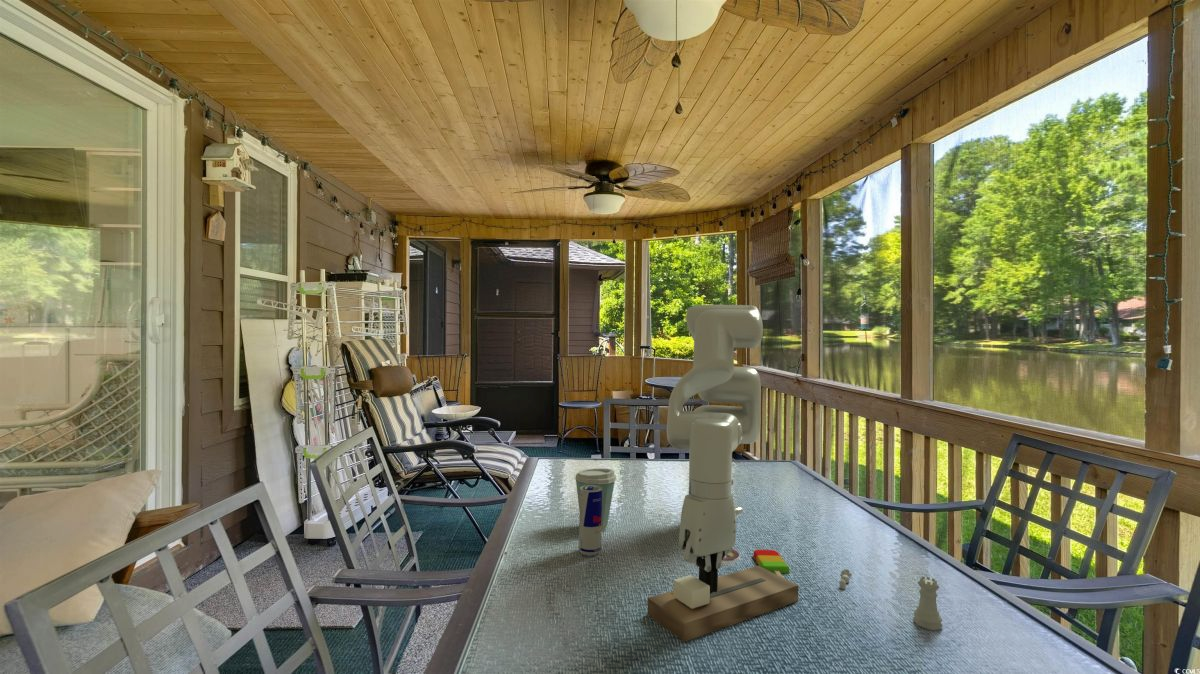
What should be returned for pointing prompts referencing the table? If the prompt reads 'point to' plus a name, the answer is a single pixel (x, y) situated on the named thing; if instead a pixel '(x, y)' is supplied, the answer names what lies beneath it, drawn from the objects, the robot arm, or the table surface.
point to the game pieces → (844, 578)
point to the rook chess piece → (928, 605)
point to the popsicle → (771, 561)
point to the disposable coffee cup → (604, 480)
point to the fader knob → (691, 591)
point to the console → (724, 603)
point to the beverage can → (590, 519)
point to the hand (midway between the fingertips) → (707, 589)
